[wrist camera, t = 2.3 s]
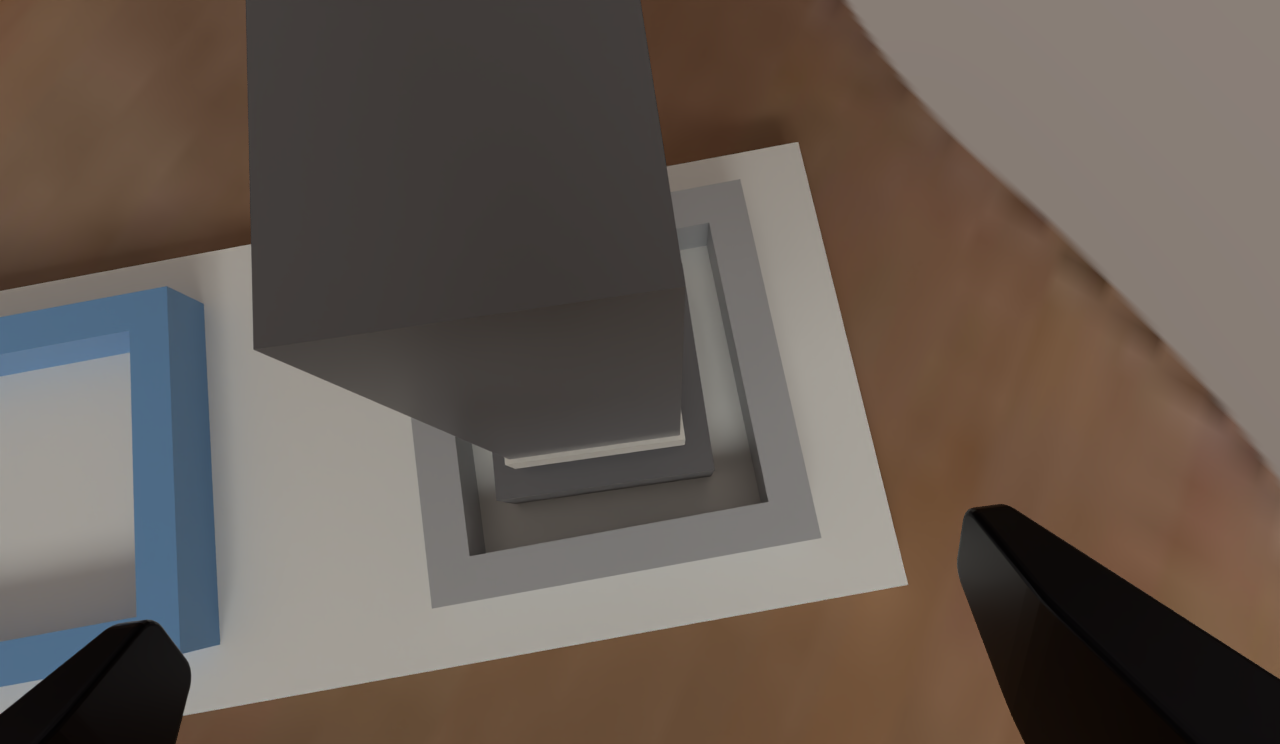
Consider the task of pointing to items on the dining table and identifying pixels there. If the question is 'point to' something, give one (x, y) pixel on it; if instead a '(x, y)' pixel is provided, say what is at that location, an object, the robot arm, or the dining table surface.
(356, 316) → the plug
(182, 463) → the board
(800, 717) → the dining table surface
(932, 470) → the dining table surface
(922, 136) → the dining table surface
